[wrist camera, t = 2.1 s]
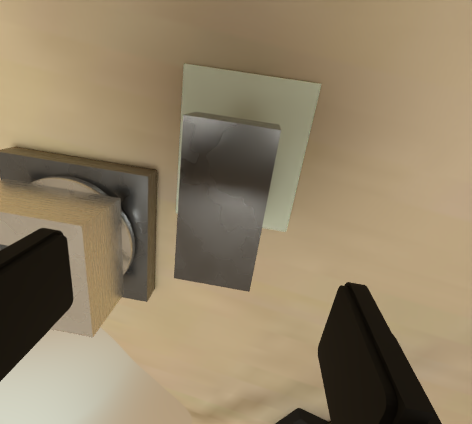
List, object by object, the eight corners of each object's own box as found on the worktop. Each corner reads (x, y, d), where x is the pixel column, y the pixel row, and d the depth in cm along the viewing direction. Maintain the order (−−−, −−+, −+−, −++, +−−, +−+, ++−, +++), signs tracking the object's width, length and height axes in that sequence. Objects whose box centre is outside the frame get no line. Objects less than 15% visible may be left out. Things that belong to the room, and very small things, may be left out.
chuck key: (217, 105, 21) (183, 114, 12) (275, 114, 21) (281, 130, 12) (206, 213, 25) (174, 278, 16) (255, 221, 24) (249, 291, 16)
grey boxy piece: (5, 165, 23) (-83, 190, 17) (134, 187, 22) (88, 219, 17) (27, 274, 27) (-37, 322, 22) (135, 294, 27) (100, 348, 21)
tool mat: (185, 64, 21) (183, 63, 20) (320, 83, 20) (321, 83, 20) (177, 210, 25) (175, 213, 25) (285, 229, 25) (286, 232, 25)
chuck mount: (14, 146, 25) (-6, 151, 23) (157, 170, 24) (148, 176, 22) (37, 267, 30) (22, 278, 28) (154, 288, 29) (147, 301, 28)
